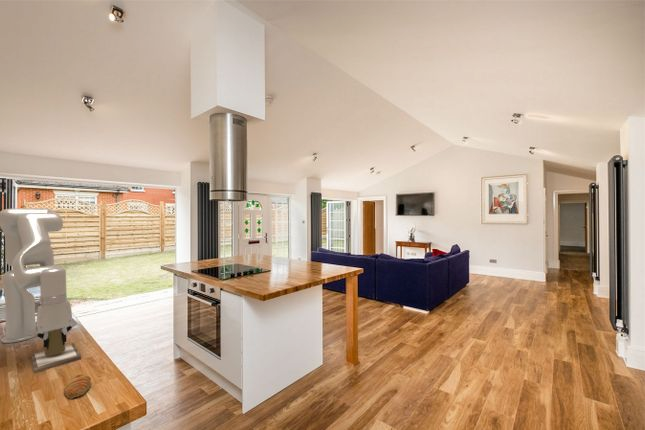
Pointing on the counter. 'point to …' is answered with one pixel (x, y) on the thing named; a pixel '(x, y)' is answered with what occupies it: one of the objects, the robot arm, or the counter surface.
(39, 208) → the robot arm
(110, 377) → the counter surface
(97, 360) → the counter surface
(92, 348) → the counter surface
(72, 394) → the pastry
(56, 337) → the cork
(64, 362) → the silver rectangular plate
